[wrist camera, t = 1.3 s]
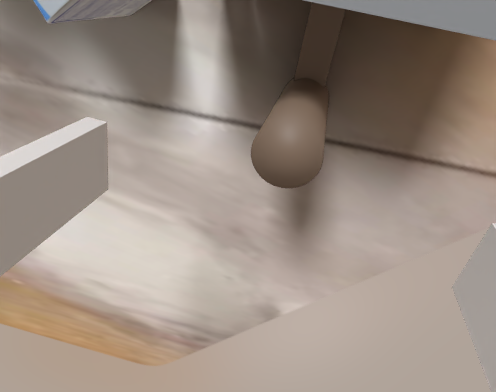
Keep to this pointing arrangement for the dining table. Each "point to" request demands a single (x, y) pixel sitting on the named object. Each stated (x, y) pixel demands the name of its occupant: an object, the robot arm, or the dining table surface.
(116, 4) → the medicine box
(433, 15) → the grey step stool
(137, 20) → the dining table surface
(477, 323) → the robot arm
